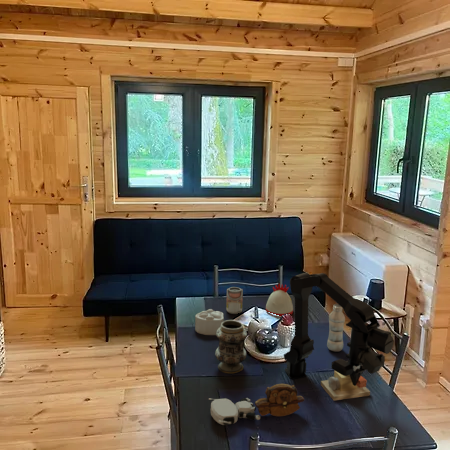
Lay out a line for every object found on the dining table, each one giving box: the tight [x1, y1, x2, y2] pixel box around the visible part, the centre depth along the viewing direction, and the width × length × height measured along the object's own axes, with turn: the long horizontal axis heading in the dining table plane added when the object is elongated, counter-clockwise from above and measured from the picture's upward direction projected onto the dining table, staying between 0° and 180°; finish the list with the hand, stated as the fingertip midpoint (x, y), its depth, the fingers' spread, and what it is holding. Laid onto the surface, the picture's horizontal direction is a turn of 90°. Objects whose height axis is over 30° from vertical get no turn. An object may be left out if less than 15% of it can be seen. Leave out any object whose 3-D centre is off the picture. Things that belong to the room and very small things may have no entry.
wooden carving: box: [254, 383, 305, 417], centre depth 142 cm, size 16×5×10 cm, turn 106°
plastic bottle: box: [326, 303, 346, 353], centre depth 185 cm, size 6×7×20 cm
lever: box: [349, 375, 368, 388], centre depth 153 cm, size 11×3×2 cm, turn 20°
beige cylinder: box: [225, 286, 244, 315], centre depth 224 cm, size 9×8×12 cm
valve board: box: [320, 370, 371, 401], centre depth 157 cm, size 14×10×7 cm
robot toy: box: [208, 397, 261, 426], centre depth 141 cm, size 12×4×15 cm
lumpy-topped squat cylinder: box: [194, 308, 225, 336], centre depth 203 cm, size 10×13×9 cm
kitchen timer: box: [265, 283, 294, 316], centre depth 225 cm, size 14×14×15 cm
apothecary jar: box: [214, 319, 248, 375], centre depth 170 cm, size 12×12×18 cm
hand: (354, 385), depth 148 cm, fingers closed
